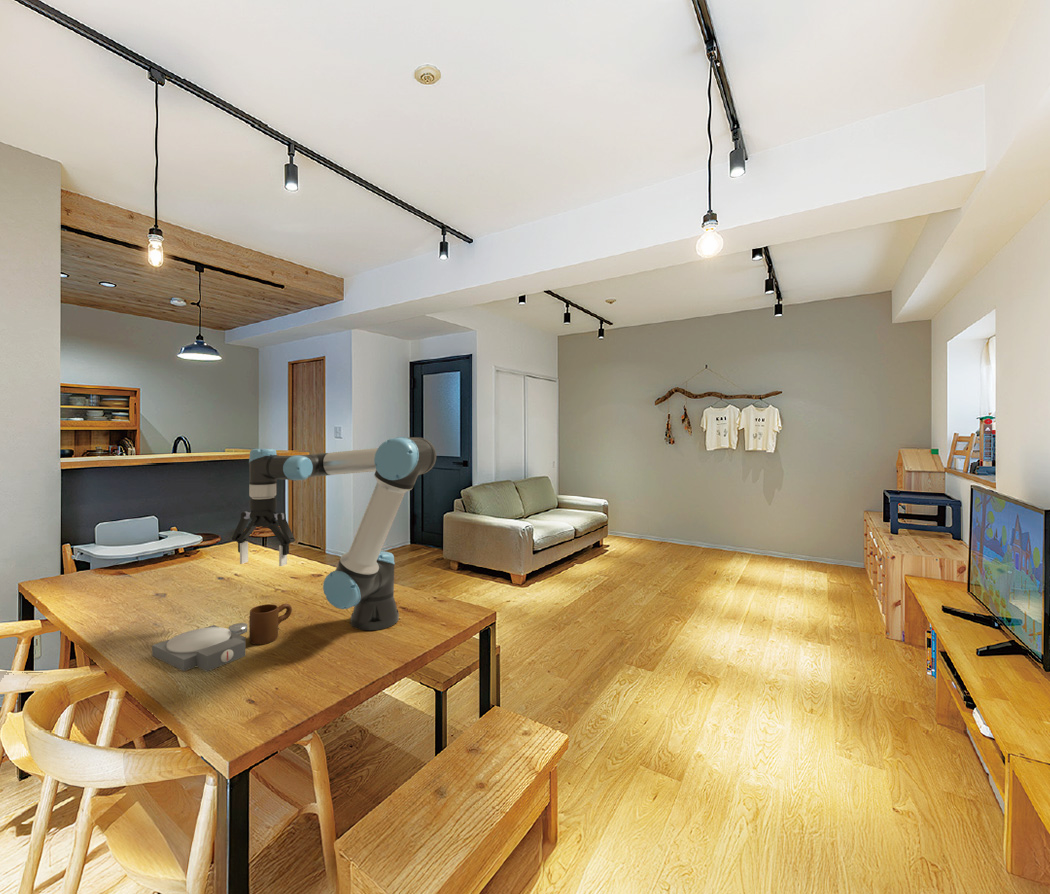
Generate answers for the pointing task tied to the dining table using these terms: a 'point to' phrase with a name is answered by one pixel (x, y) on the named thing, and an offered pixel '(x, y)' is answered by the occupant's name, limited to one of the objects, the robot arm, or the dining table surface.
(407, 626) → the dining table surface
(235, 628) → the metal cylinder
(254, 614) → the mug
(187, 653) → the scale
